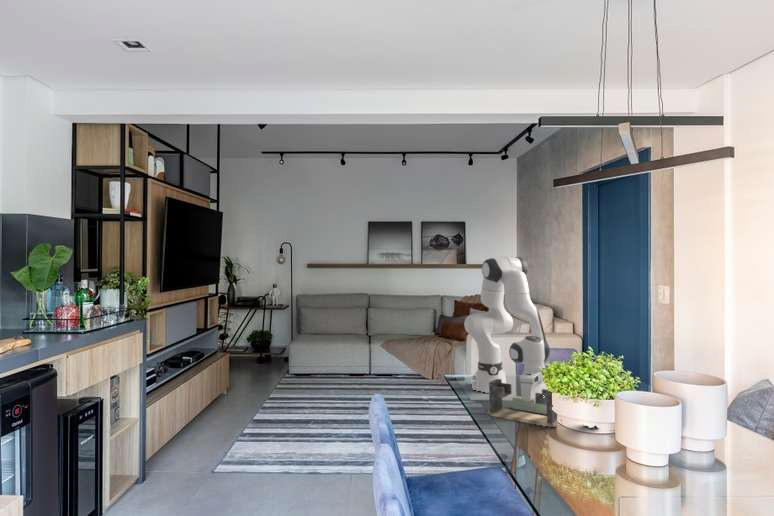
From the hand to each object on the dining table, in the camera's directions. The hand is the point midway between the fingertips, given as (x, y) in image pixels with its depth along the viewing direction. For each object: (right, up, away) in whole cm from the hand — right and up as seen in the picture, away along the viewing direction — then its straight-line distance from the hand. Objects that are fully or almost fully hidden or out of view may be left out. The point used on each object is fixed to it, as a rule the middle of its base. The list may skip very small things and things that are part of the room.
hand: (535, 406), depth 215 cm
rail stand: (-8, -2, -9) cm, 12 cm away
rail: (0, -2, 0) cm, 2 cm away
